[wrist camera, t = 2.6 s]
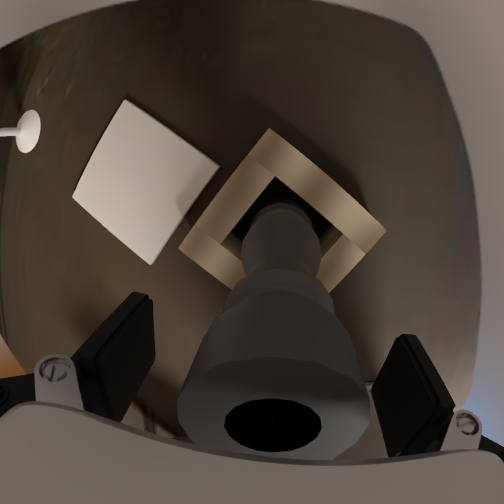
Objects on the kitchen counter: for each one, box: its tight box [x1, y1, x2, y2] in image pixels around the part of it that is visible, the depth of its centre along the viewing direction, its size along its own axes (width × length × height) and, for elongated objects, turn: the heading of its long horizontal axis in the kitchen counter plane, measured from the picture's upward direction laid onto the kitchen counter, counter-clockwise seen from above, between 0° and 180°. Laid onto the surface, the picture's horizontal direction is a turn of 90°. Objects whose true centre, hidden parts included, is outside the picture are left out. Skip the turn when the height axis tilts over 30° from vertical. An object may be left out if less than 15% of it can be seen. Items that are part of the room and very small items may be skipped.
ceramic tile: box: [73, 100, 221, 265], centre depth 30 cm, size 14×14×1 cm
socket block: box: [178, 128, 387, 293], centre depth 28 cm, size 14×14×5 cm
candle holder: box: [177, 198, 370, 460], centre depth 19 cm, size 6×6×25 cm
